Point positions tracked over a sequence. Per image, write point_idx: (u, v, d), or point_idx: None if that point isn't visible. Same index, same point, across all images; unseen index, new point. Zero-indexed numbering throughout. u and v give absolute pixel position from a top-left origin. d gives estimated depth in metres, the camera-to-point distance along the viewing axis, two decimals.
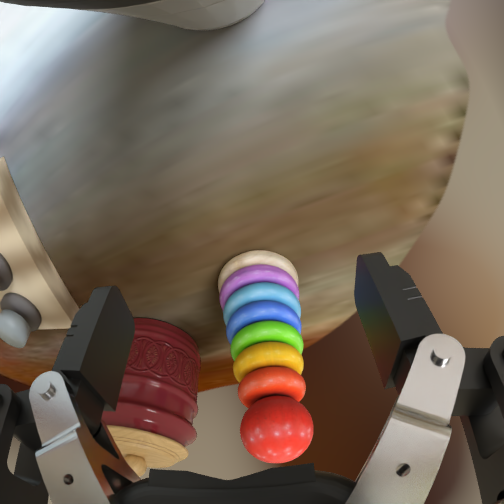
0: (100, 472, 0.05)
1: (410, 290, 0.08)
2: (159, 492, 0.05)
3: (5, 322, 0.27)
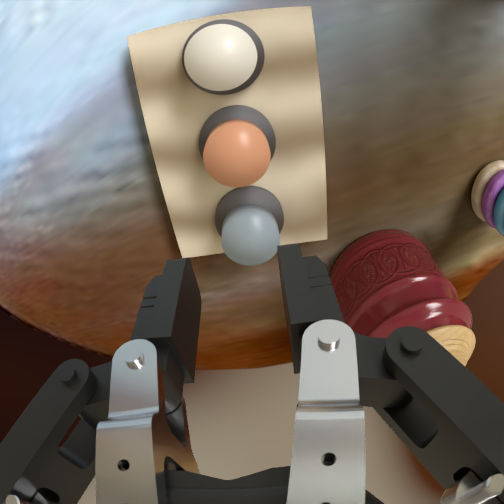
0: (161, 467, 0.05)
1: (321, 279, 0.09)
2: None
3: (260, 216, 0.24)
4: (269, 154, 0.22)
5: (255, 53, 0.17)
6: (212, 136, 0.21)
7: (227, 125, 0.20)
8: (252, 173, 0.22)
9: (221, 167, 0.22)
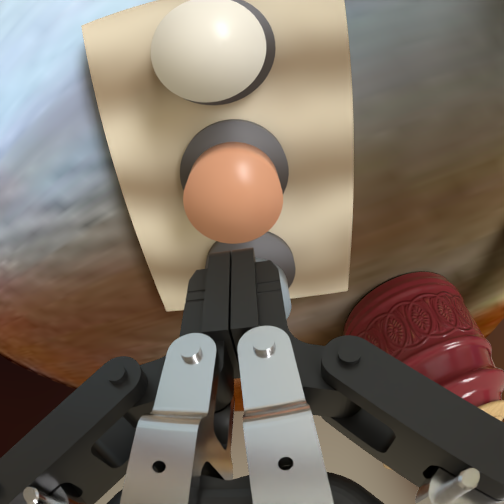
0: (198, 474, 0.05)
1: (272, 284, 0.10)
2: None
3: None
4: (281, 198, 0.15)
5: (263, 43, 0.11)
6: (196, 172, 0.14)
7: (218, 155, 0.14)
8: (255, 225, 0.16)
9: (211, 216, 0.15)
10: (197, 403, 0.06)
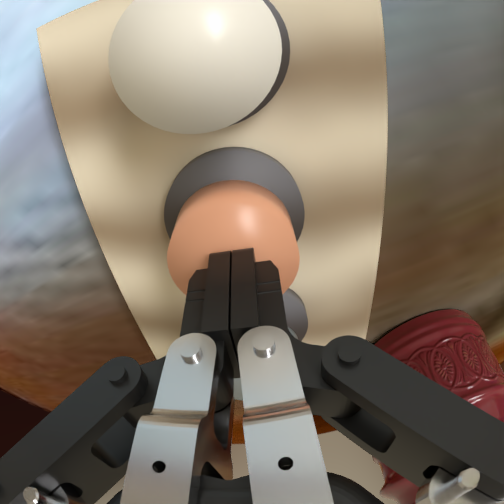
0: (198, 474, 0.05)
1: (272, 284, 0.10)
2: None
3: None
4: (297, 260, 0.11)
5: (277, 43, 0.07)
6: (182, 227, 0.10)
7: (212, 204, 0.10)
8: None
9: None
10: (197, 403, 0.06)
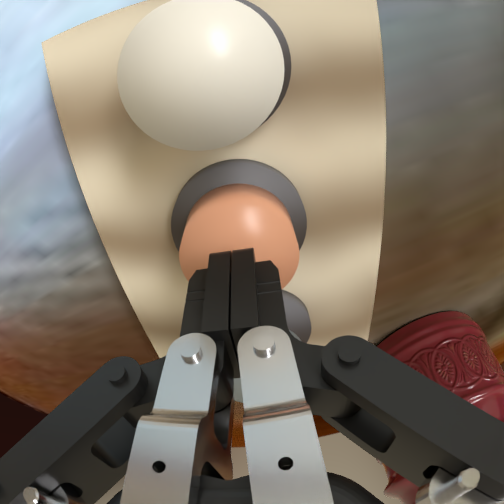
0: (198, 474, 0.05)
1: (272, 284, 0.10)
2: None
3: None
4: (297, 255, 0.12)
5: (280, 62, 0.08)
6: (193, 227, 0.12)
7: (220, 206, 0.11)
8: None
9: None
10: (197, 403, 0.06)
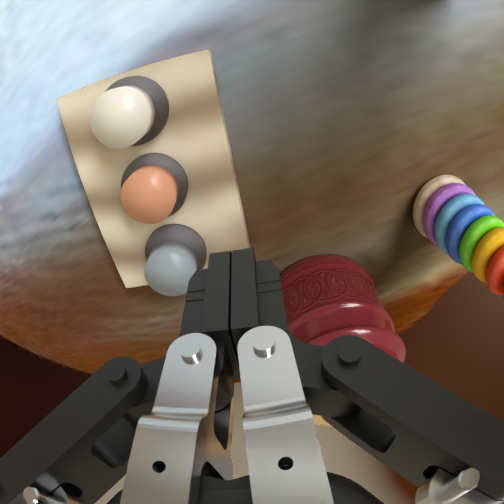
0: (198, 474, 0.05)
1: (272, 284, 0.10)
2: None
3: (173, 253, 0.27)
4: (173, 194, 0.25)
5: (146, 111, 0.20)
6: (125, 183, 0.24)
7: (136, 172, 0.24)
8: (161, 211, 0.26)
9: (136, 208, 0.25)
10: (197, 403, 0.06)
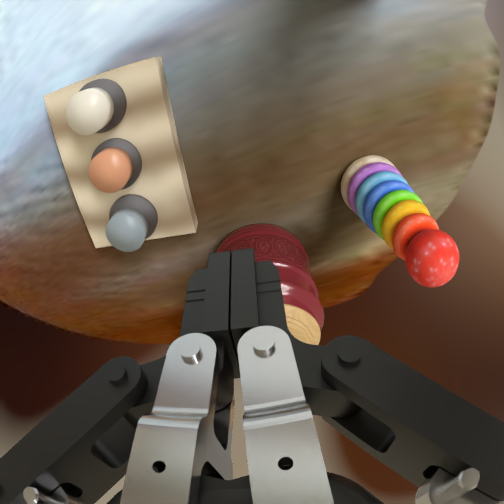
0: (198, 474, 0.05)
1: (272, 284, 0.10)
2: None
3: (127, 216, 0.33)
4: (126, 169, 0.31)
5: (105, 107, 0.26)
6: (92, 161, 0.30)
7: (100, 153, 0.30)
8: (118, 183, 0.32)
9: (100, 180, 0.31)
10: (197, 403, 0.06)
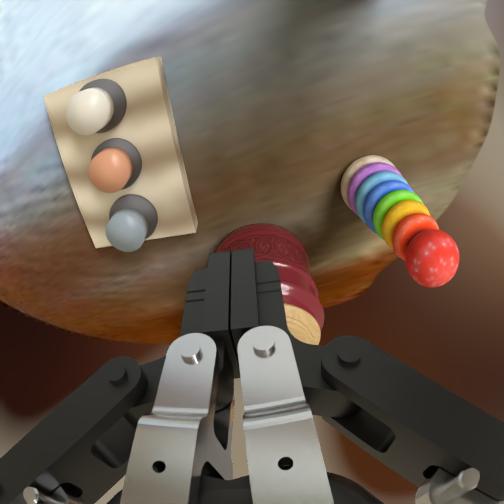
0: (198, 474, 0.05)
1: (272, 284, 0.10)
2: None
3: (126, 216, 0.33)
4: (126, 169, 0.31)
5: (105, 107, 0.26)
6: (92, 161, 0.30)
7: (100, 153, 0.30)
8: (118, 183, 0.32)
9: (100, 180, 0.31)
10: (197, 403, 0.06)
